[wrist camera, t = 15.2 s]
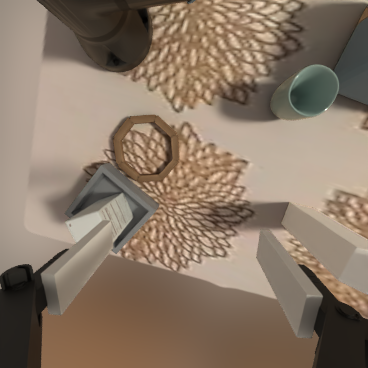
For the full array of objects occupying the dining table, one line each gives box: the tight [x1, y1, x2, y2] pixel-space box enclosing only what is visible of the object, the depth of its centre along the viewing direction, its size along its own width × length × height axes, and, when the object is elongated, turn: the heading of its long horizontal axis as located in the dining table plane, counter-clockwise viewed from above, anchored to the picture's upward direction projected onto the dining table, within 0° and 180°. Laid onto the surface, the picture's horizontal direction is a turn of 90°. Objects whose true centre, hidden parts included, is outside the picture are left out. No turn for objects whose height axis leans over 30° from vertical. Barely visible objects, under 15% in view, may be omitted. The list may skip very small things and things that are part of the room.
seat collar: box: [113, 115, 180, 182], centre depth 42 cm, size 15×15×2 cm
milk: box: [281, 202, 368, 295], centre depth 34 cm, size 6×6×22 cm
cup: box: [270, 64, 339, 121], centre depth 34 cm, size 8×8×10 cm
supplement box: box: [65, 192, 134, 243], centre depth 40 cm, size 7×7×13 cm
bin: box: [64, 163, 159, 254], centre depth 45 cm, size 16×16×4 cm
